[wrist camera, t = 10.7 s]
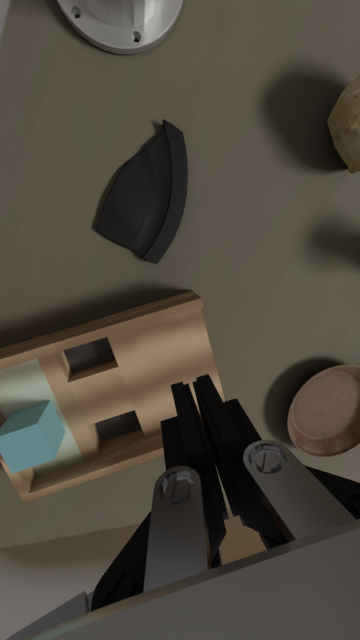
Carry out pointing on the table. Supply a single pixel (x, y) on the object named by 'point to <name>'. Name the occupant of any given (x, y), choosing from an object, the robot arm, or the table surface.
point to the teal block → (31, 437)
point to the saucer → (327, 412)
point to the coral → (347, 126)
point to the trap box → (106, 388)
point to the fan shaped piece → (149, 197)
